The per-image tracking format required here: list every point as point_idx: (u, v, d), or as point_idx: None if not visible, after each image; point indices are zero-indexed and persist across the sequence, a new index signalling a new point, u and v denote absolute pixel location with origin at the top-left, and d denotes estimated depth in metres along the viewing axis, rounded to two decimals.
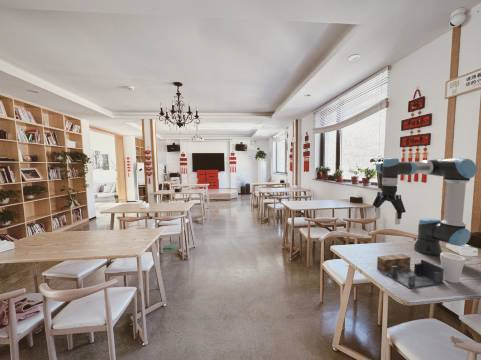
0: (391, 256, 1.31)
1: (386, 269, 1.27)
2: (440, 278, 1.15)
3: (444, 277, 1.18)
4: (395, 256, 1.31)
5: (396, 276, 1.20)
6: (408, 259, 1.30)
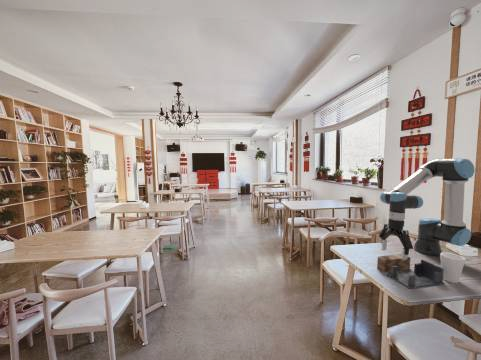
0: (391, 256, 1.31)
1: (386, 269, 1.27)
2: (440, 278, 1.15)
3: (444, 277, 1.18)
4: (395, 256, 1.31)
5: (396, 276, 1.20)
6: (408, 259, 1.30)
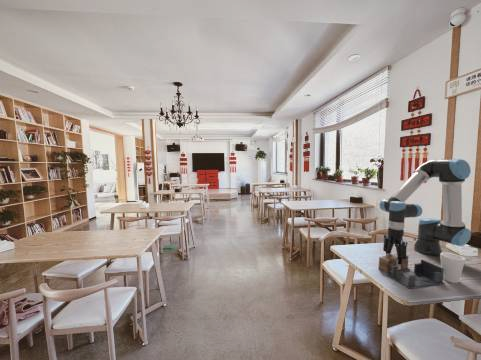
0: (391, 256, 1.31)
1: (388, 270, 1.26)
2: (440, 278, 1.15)
3: (444, 277, 1.18)
4: (394, 256, 1.31)
5: (396, 276, 1.20)
6: (406, 258, 1.31)
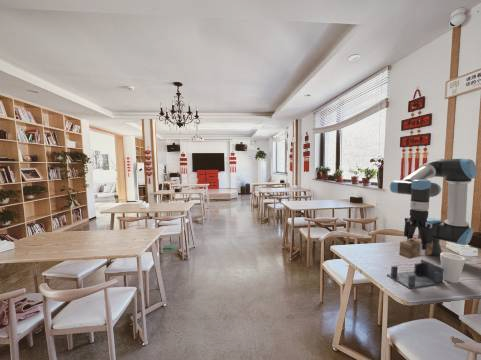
0: (413, 241, 1.17)
1: (411, 256, 1.12)
2: (440, 278, 1.15)
3: (444, 277, 1.18)
4: (417, 240, 1.18)
5: (396, 276, 1.20)
6: (431, 243, 1.17)
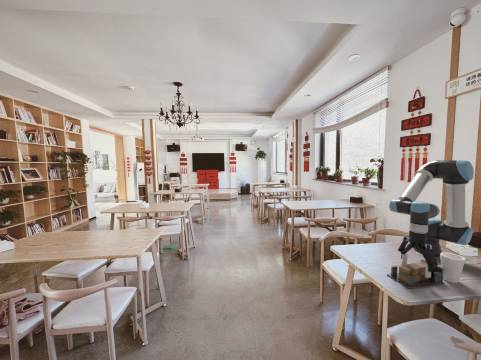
0: (412, 265, 1.18)
1: None
2: (440, 278, 1.15)
3: (444, 277, 1.18)
4: (416, 264, 1.19)
5: (396, 276, 1.20)
6: None
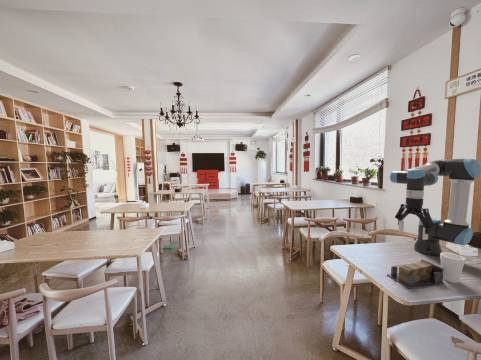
0: (412, 265, 1.18)
1: None
2: (440, 278, 1.15)
3: (444, 277, 1.18)
4: (416, 264, 1.19)
5: (396, 276, 1.20)
6: (430, 267, 1.18)
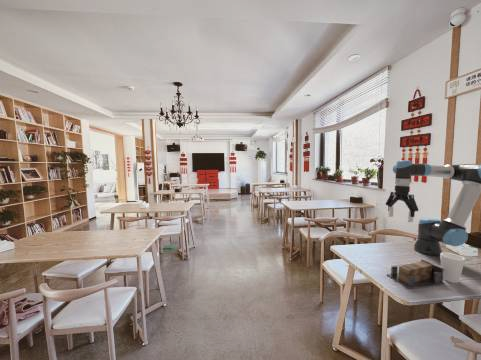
0: (412, 265, 1.18)
1: None
2: (440, 278, 1.15)
3: (444, 277, 1.18)
4: (416, 264, 1.19)
5: (396, 276, 1.20)
6: (430, 267, 1.18)
